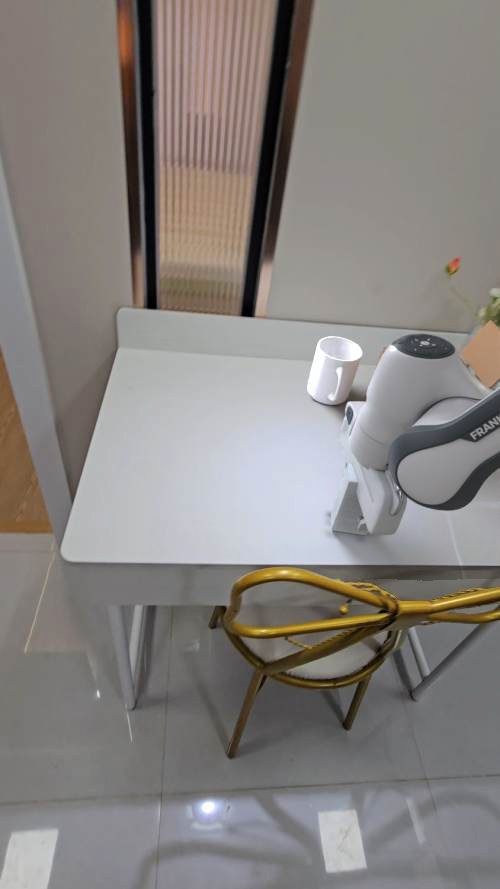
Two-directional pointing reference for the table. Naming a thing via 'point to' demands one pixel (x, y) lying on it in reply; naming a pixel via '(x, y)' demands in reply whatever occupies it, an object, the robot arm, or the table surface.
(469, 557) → the table surface
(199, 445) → the table surface
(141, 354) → the table surface
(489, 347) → the flap
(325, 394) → the mug
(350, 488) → the cosmetic box
